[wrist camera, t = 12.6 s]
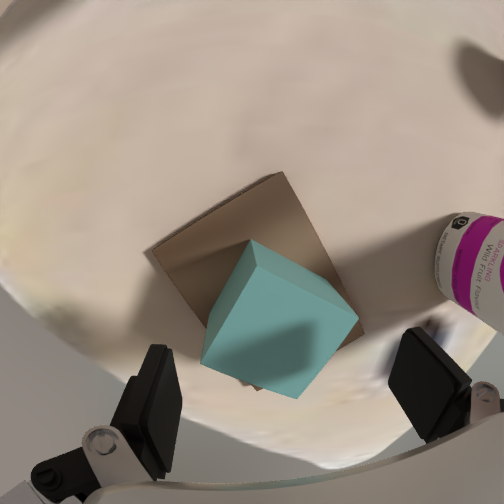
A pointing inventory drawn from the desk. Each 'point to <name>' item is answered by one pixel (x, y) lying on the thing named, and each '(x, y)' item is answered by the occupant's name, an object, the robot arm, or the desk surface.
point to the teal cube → (275, 323)
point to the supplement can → (473, 266)
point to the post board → (237, 238)
